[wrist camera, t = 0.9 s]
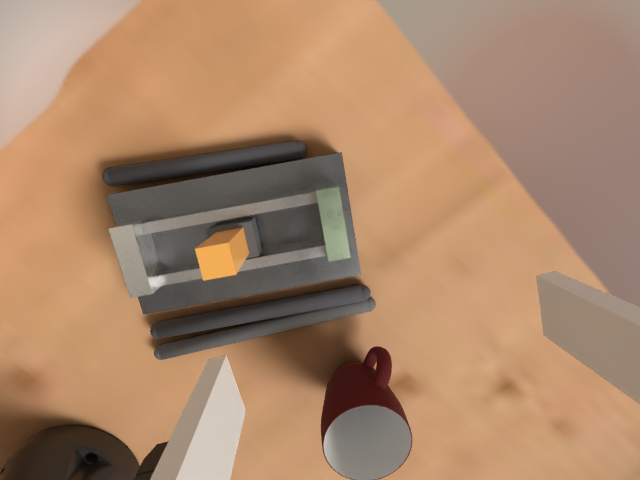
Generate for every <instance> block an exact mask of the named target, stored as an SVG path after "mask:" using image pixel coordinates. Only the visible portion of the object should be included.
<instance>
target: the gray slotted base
mask: <svg viewBox="0 0 640 480" xmlns="http://www.w3.org/2000/svg"><path fill="white" fill-rule="evenodd" d="M106 196H107V200H108V203H109V206H110V209H111V212H112V216H113V219H114V222H115V225H116V226H115V227H112V228H109V233H110V236H111V239H112V242H113V245H114V248H115V251H116V255H117V258H118V261H119V264H120V267H121V270H122V273H123V277H124V280H125V283H126V286H127V289H128V292H129V295H130V298H133V297H138V299H139V302H140V305H141V308H142V312H143V314H149V313H154V312H160V311H165V310H171V309H176V308H181V307H187V306H192V305H198V304H203V303H209V302H214V301H220V300H225V299H231V298H236V297H242V296H247V295H253V294H258V293H264V292H269V291H275V290H280V289H285V288H291V287H296V286H302V285H307V284H313V283H318V282H324V281H329V280H335V279H340V278H346V277H351V276H357V275H361V271H360V265H359V258H358V252H357V246H356V240H355V233H354V227H353V221H352V214H351V208H350V202H349V196H348V189H347V183H346V177H345V170H344V164H343V158H342V152H341V153H335V154H330V155H324V156H319V157H313V158H308V159H302V160H297V161H291V162H286V163H280V164H275V165H269V166H264V167H258V168H253V169H247V170H242V171H236V172H231V173H225V174H220V175H214V176H209V177H203V178H198V179H192V180H187V181H181V182H176V183H170V184H165V185H159V186H154V187H148V188H143V189H137V190H132V191H126V192H121V193H115V194H110V195H106ZM253 217H255V219H256V224H257V228H258V233H259V237H260V242H261V246H262V251H261V253H260V255H259V256H258V257H252V258H247V259H246V260H245V261H244V263H243V264H242V266H241V268H240V269H239V271H238V273H237V274H236V275H232V276H226V277H221V278H215V279H210V280H205V281H203V278H202V274H201V270H200V266H199V263H198V259H197V255H196V251H195V248H197V247H198V246H199V245H200V244H202V243H203V242H204V241H206V240H207V239H208V236H207V232H206V229H207V228H209V227H210V226H212V225H215V224H220V223H225V222H231V221H236V220H242V219H247V218H253Z"/></svg>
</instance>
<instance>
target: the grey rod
mask: <svg viewBox="0 0 640 480" xmlns="http://www.w3.org/2000/svg"><path fill="white" fill-rule="evenodd" d="M369 297H370V289H369V288H368V287H367V286H365V285H356V286H351V287H345V288H340V289H334V290H329V291H323V292H318V293H312V294H307V295H302V296H296V297H291V298H285V299H280V300H274V301H269V302H263V303H258V304H252V305H247V306H241V307H236V308H230V309H225V310H219V311H214V312H209V313H203V314H198V315H192V316H187V317H181V318H176V319H170V320H165V321H159V322H156V323H154V324H153V325H152V327H151V330H150V332H151V335H152V336H153V337H154V338H156V339H161V338H167V337H172V336H178V335H183V334H189V333H194V332H199V331H205V330H210V329H216V328H221V327H227V326H232V325H238V324H243V323H249V322H254V321H260V320H265V319H271V318H276V317H282V316H287V315H292V314H298V313H303V312H309V311H314V310H320V309H325V308H331V307H336V306H342V305H347V304H353V303H358V302H363V301H366V300H368V299H369Z"/></svg>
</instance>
